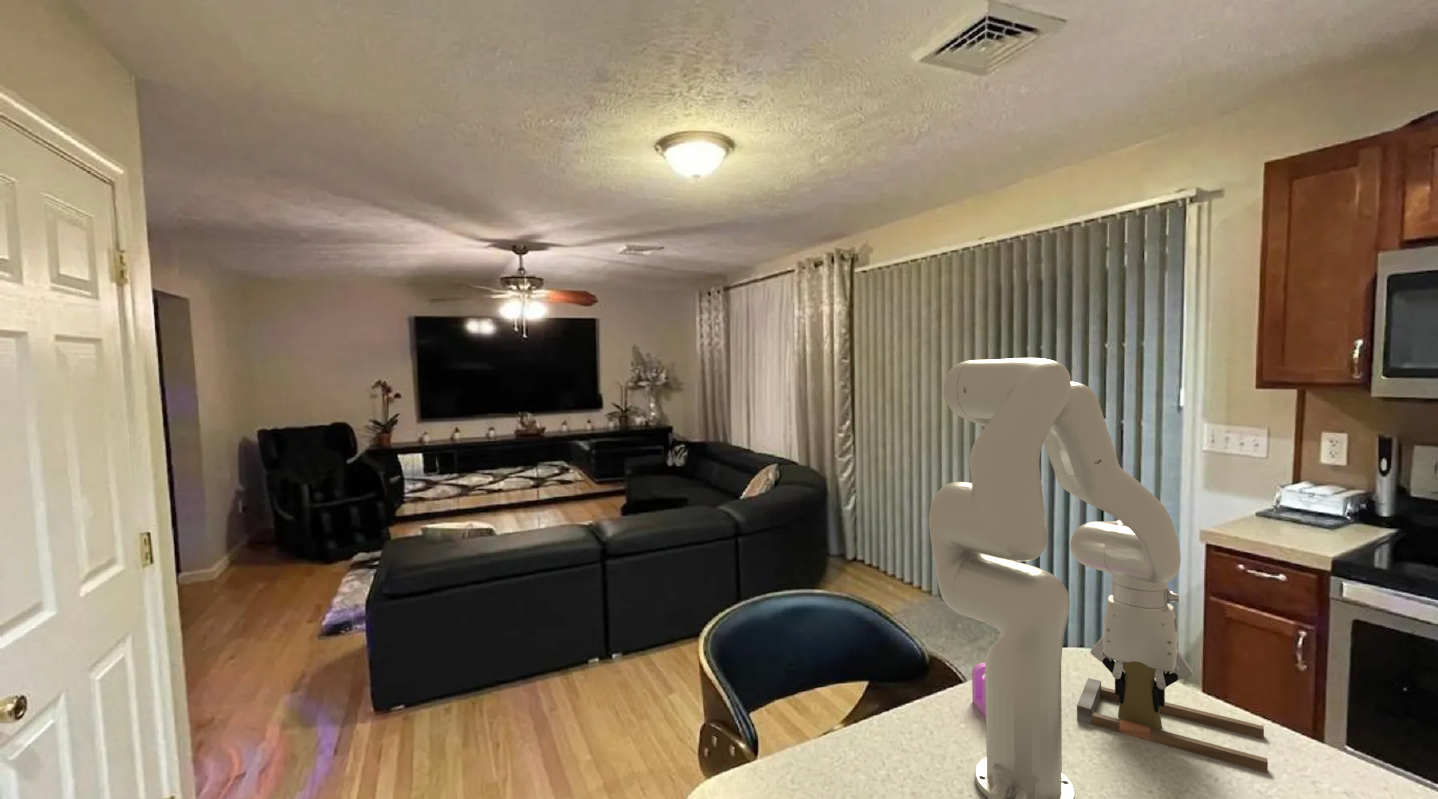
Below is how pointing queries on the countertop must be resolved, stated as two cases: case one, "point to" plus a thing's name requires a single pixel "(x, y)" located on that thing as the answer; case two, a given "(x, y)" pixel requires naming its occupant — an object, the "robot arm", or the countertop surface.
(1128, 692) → the cork
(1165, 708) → the guide channel
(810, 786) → the countertop surface
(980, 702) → the bracket
